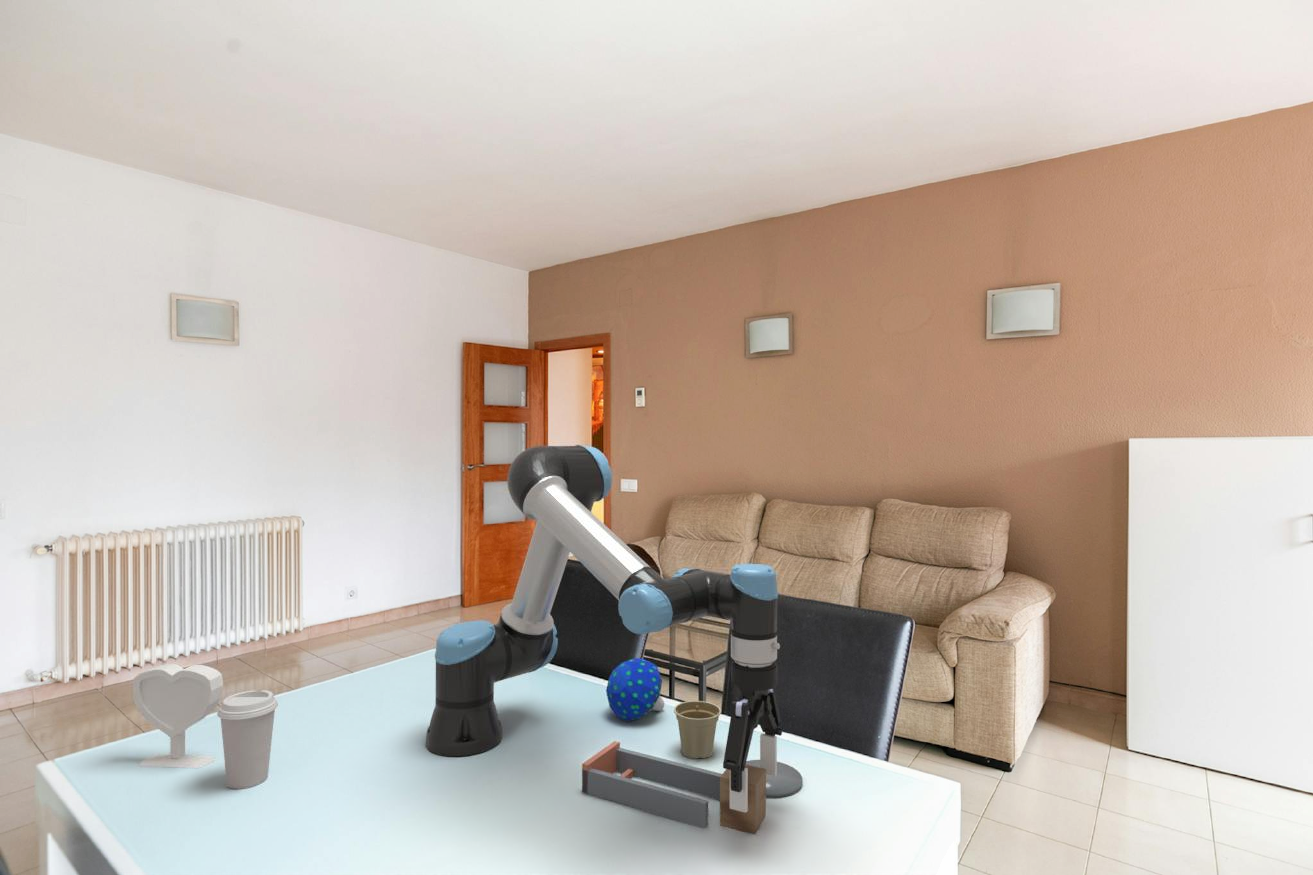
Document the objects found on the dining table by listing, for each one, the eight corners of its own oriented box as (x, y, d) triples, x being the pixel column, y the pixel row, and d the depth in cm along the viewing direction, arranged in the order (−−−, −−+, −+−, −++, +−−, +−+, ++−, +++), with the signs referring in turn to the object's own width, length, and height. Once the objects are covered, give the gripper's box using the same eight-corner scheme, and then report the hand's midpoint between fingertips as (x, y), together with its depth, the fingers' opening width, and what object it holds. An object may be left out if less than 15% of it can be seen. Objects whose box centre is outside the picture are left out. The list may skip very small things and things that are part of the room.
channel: (581, 791, 126) (582, 763, 126) (614, 767, 135) (614, 740, 135) (705, 828, 114) (705, 797, 114) (731, 798, 124) (731, 770, 124)
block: (719, 826, 115) (720, 776, 115) (731, 808, 121) (731, 761, 121) (755, 835, 113) (755, 784, 113) (765, 816, 118) (766, 768, 118)
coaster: (719, 786, 128) (719, 782, 128) (746, 758, 140) (746, 754, 140) (789, 805, 122) (789, 800, 122) (811, 773, 133) (811, 769, 133)
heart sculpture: (128, 765, 134) (129, 670, 134) (148, 753, 139) (149, 661, 139) (207, 768, 133) (208, 672, 133) (225, 756, 138) (226, 664, 138)
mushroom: (691, 678, 163) (647, 647, 156) (671, 739, 155) (624, 710, 148) (651, 675, 173) (608, 646, 166) (630, 733, 165) (584, 705, 159)
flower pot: (717, 765, 136) (718, 720, 136) (669, 760, 138) (670, 716, 138) (723, 744, 146) (723, 702, 146) (677, 740, 148) (678, 698, 148)
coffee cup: (289, 772, 132) (290, 692, 132) (244, 797, 123) (245, 710, 123) (250, 764, 135) (251, 685, 135) (203, 787, 126) (204, 703, 126)
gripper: (747, 687, 103) (747, 833, 103) (799, 644, 125) (799, 765, 125) (701, 679, 107) (701, 820, 107) (759, 638, 129) (759, 756, 129)
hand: (754, 790), depth 116 cm, fingers open, 13 cm apart
